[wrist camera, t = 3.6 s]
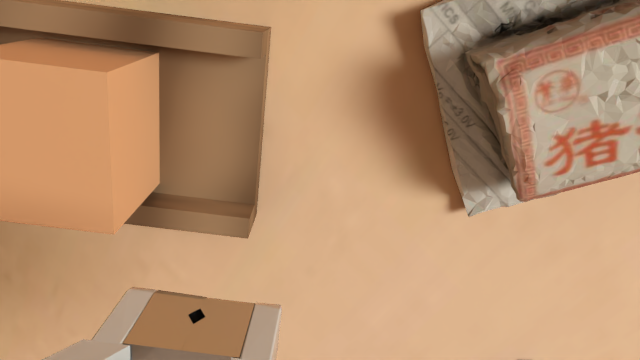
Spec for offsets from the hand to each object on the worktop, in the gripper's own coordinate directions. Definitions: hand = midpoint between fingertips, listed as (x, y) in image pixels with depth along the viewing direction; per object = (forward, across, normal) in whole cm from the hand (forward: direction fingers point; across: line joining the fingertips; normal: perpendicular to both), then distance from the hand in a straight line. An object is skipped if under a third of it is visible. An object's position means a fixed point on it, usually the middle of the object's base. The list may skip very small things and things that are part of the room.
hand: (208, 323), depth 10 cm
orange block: (+14, +8, 0) cm, 16 cm away
